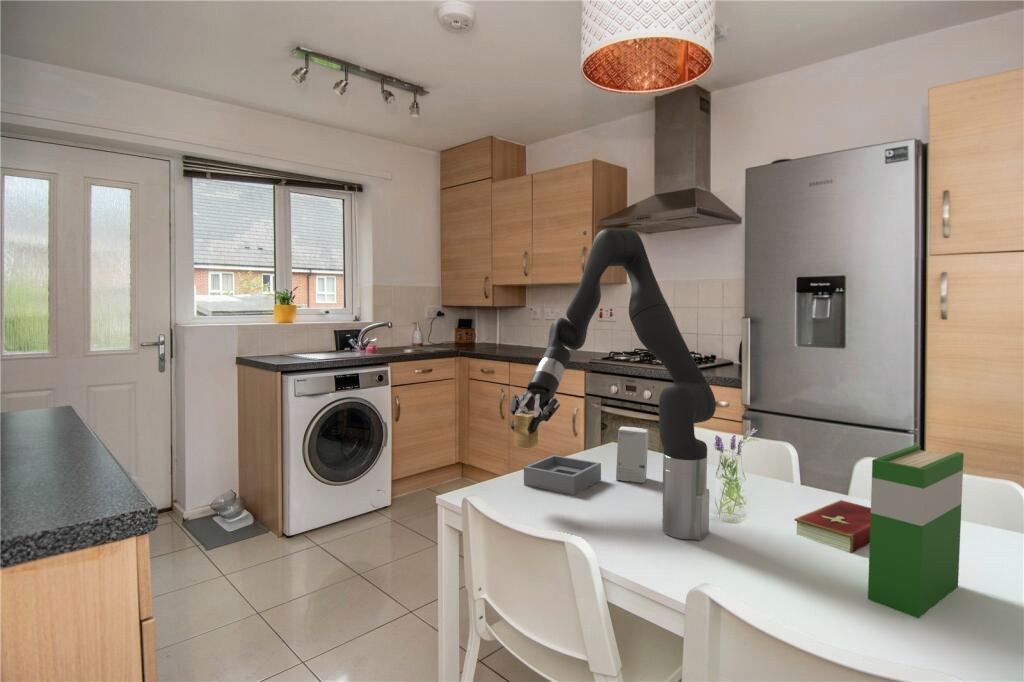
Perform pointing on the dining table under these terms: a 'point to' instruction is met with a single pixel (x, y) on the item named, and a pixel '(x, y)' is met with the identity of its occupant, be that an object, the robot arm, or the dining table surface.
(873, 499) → the hardback book
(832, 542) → the hardcover book
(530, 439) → the block
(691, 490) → the robot arm
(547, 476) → the walled box
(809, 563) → the dining table surface
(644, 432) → the skincare box
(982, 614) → the dining table surface
